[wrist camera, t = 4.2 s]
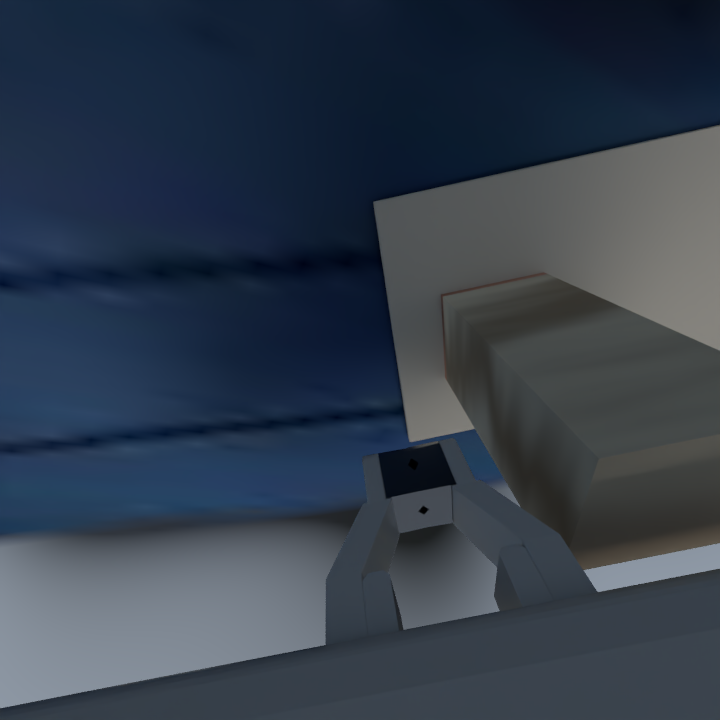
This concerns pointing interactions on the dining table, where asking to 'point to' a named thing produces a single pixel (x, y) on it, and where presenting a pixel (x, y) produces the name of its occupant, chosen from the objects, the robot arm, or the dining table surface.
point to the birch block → (590, 415)
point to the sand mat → (555, 249)
